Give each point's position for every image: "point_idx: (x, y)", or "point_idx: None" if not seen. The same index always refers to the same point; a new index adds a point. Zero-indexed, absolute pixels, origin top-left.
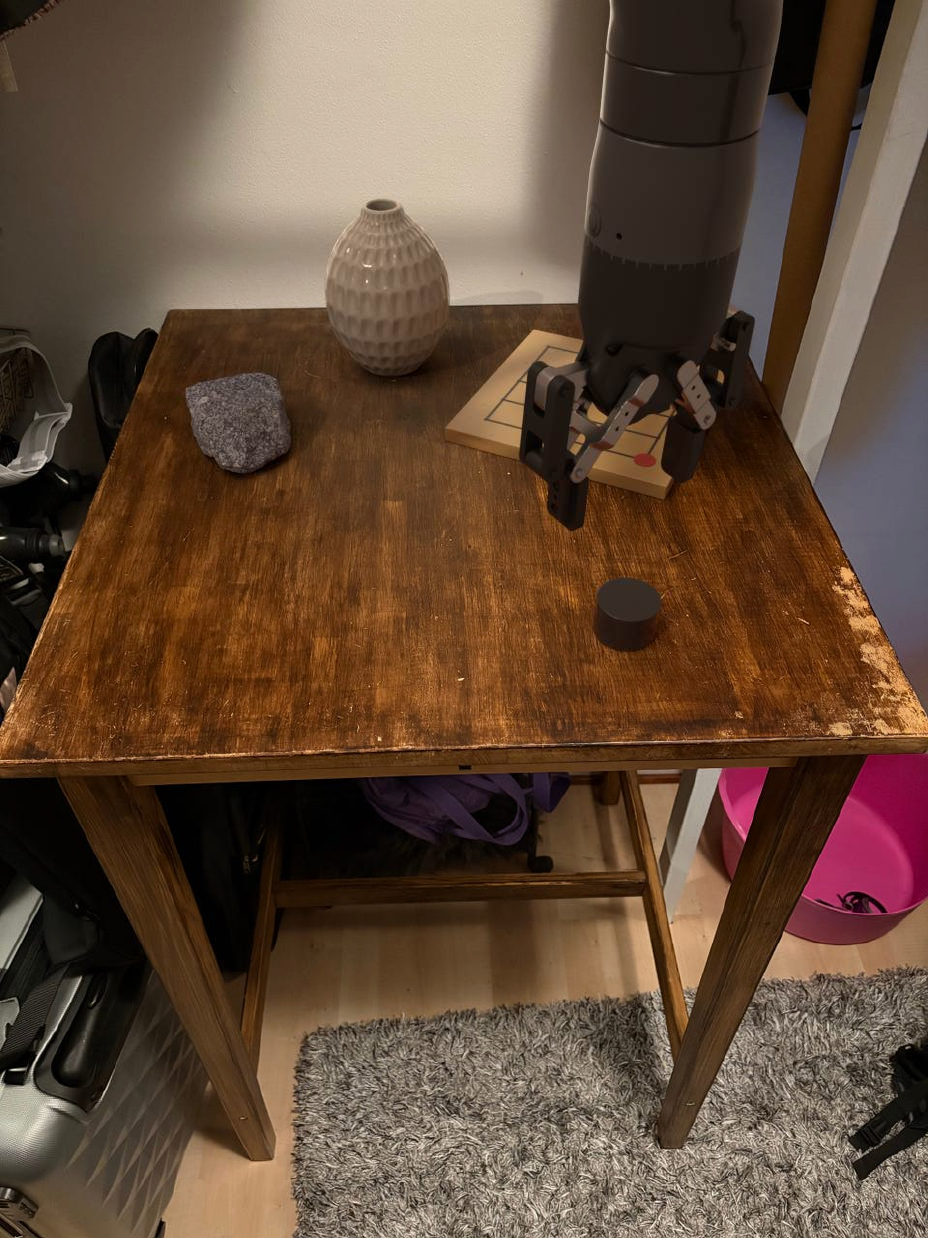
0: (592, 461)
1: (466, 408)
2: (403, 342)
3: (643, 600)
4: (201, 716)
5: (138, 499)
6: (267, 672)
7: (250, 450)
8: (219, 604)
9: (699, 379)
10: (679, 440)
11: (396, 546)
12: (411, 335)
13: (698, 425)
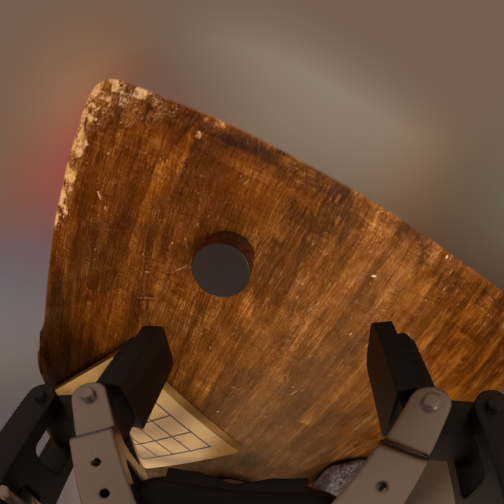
0: (406, 420)
1: (216, 455)
2: None
3: (209, 263)
4: (497, 320)
5: None
6: (458, 336)
7: (357, 470)
8: (441, 389)
9: (85, 502)
10: (143, 388)
11: (329, 395)
12: None
13: (108, 396)
